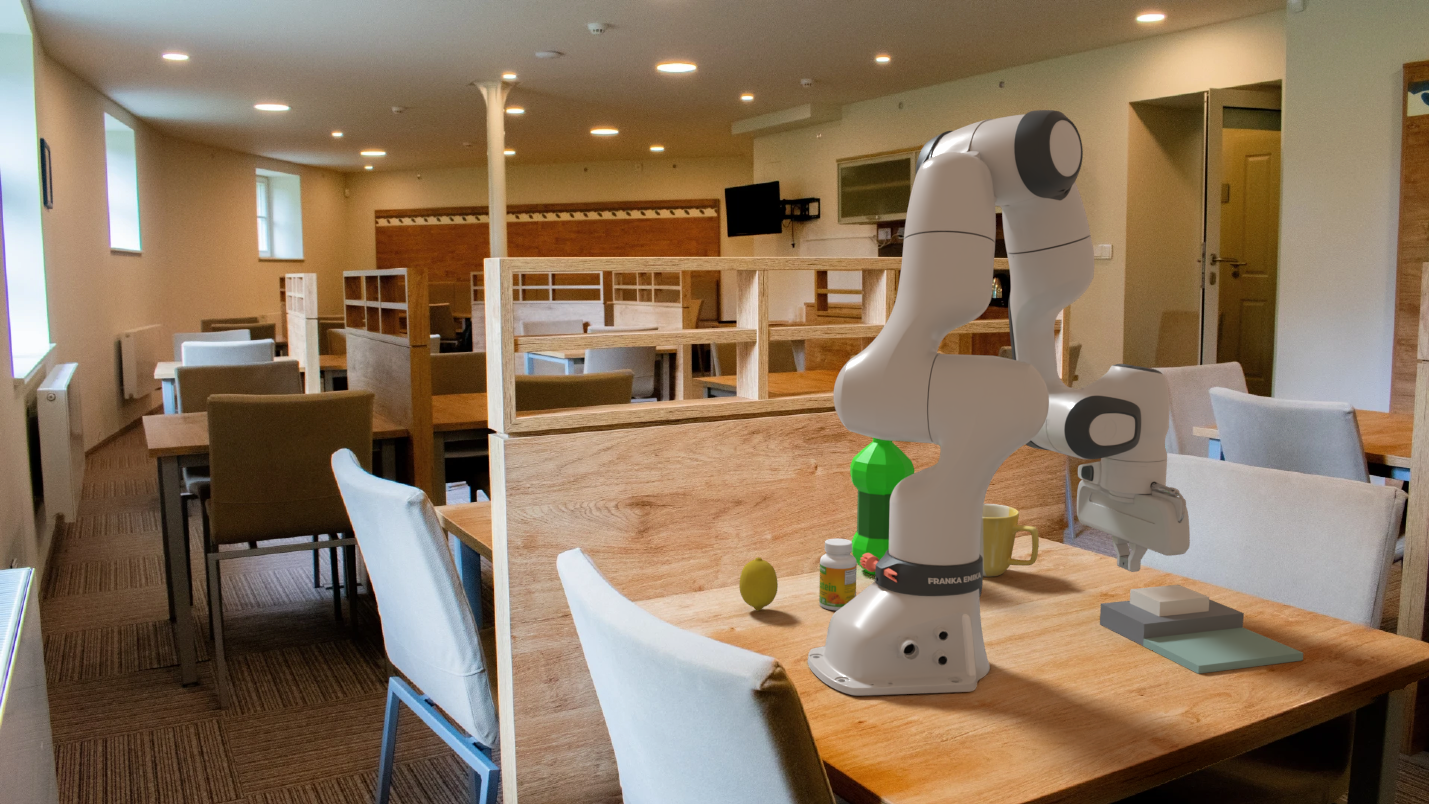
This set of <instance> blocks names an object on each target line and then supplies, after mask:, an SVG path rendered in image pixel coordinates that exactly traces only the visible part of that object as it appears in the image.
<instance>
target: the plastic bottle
mask: <svg viewBox="0 0 1429 804" xmlns="http://www.w3.org/2000/svg"><path fill="white" fill-rule="evenodd" d="M850 462H851V463H850V465H849V473H850V479H851V482H852V485H853V486H854V488H855V489H857V499H856V500H857V501H856V503H857V508H856V509H857V511H856V513H857V514H856V517H857V518H856V519H857V520H856V527H857V528H856V532H855V534H854V535H853V538H852V539H851V542H852V552H851V554H852V555H853V556H854V557H855V558H856V562H857V565H858V566H859V567H860V568H861V569H862V570H864V573H867V574H870V575H874V576H875V571H874V572H870V571H868V570H867V569H865V568H863V567H862V565H860V564H861V562H860V560H861V559H860V558H861V557H864V556H862V555H863V554H865V553H870V554H872V555H874V556H875V557H877V558H878V559H879V560H880V559H881V558H882V557H883V556H884V555H885V553H886V551H887V550H888V549H889V512H890V497H891V494H892V491H893V490H894V488H895V487H896V485H897V484H898V483H899V482H900V481H901V480H903V479H904V478H906V477H908V476H910V475H912V474H914V473H915V468H914V465H913V462H912V459H911V458H909V457H908V456H907V455H906V454H905V452H903V451H902V449H900V447H898V446H897V445H896V444H895V443H894V441H889V440H880V439H876V438H872V441H871V442H870V443H869V444H867V445H866V446H865V447H864V448H862V449H861V450H860V451H859V452H858V453H857V454H856V455H854V457H852V460H851V461H850Z"/></svg>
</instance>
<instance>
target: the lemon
mask: <svg viewBox="0 0 1429 804" xmlns="http://www.w3.org/2000/svg"><path fill="white" fill-rule="evenodd" d="M738 584H739V585H738V586H739V593H740V595H741V597H742V600H743V601H744V603H746V604H747V605H748V606H750V607H752V608H753V609H754V610H755V611H757V612H760V611H762V610H763V608H765V607H767V606H770V605H771V603H772V602H773V601H774V600H775V598H776V596H777V593H778V577H777V573H776V570H775V568H774V566H773V565H772V564H771V563H770V562H768V561H767V560H764V559H763V558H762V557H760V556H758V557H755V559H752V560H750V561H749V562H747V563H746V564H745V565H744V566H743V568H742V571H741V573H740V577H739V583H738Z"/></svg>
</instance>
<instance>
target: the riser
mask: <svg viewBox="0 0 1429 804" xmlns="http://www.w3.org/2000/svg"><path fill="white" fill-rule="evenodd" d="M1099 610H1100V613H1099V625H1101V626H1102V627H1104V628H1107V629H1108V630H1111V631H1112V632H1114V633H1116V634H1118V635H1120V636H1122V637H1124V638H1125V639H1128V640H1130V641H1132V642H1134V641H1135V642H1134V643H1137V644H1138V645H1140V644H1141V645H1140V646H1142V647H1144V646H1143V640H1144V639H1146V638H1154V637H1163V636H1172V635H1181V634H1189V633H1198V632H1207V631H1215V630H1224V629H1233V628H1242V627H1243V628H1244V615H1245V612H1242V611H1239V610H1237V609H1235V608H1232V607H1230V606H1227V605H1224V604H1222V603H1219V602H1217V601H1215V600H1213V599H1211V598H1209V611H1206V612H1197V613H1188V614H1178V615H1169V616H1160V617H1159V616H1157V615H1155V614H1153V613H1150V612H1148V611H1146V610H1144V609H1142V608H1139V607H1137V606H1135V605H1133V604H1130V600H1123V601H1112V602H1104V603H1103V602H1102V603H1100V609H1099Z"/></svg>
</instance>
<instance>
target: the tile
mask: <svg viewBox="0 0 1429 804" xmlns="http://www.w3.org/2000/svg"><path fill="white" fill-rule="evenodd" d="M1129 591H1130V592H1129V593H1130V594H1129V601H1130V604H1133V605H1135V606H1137V607H1139V608H1142V609H1144V610H1146V611H1148V612H1150V613H1153V614H1155V615H1157V616H1159V617H1160V616H1169V615H1178V614H1188V613H1197V612H1206V611H1209V599H1210V596H1208V595H1206V594H1202V593H1200V592H1198V591H1195V590H1193V589H1190V588H1188V587H1185V586H1183V585H1180V584H1171V585H1162V586H1161V585H1159V586H1150V587H1149V586H1148V587H1141V588H1130V589H1129Z"/></svg>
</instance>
